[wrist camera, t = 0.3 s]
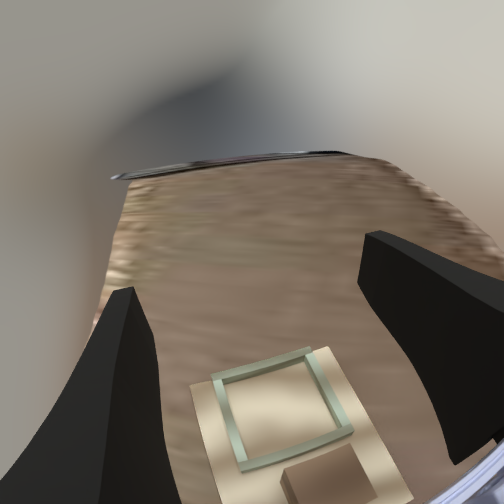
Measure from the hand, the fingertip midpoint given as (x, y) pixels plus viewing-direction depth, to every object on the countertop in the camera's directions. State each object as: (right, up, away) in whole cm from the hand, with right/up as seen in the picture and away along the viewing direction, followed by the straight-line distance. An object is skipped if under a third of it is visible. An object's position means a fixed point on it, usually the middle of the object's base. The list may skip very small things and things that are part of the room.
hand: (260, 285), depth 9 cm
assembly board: (+3, -16, +12) cm, 20 cm away
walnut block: (+5, -18, +8) cm, 20 cm away
